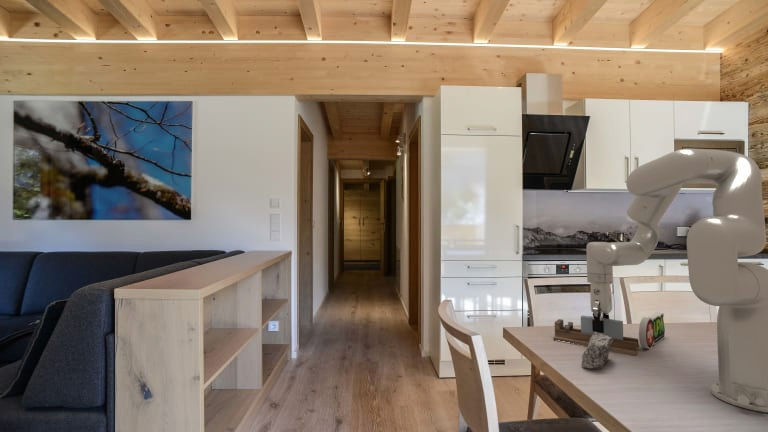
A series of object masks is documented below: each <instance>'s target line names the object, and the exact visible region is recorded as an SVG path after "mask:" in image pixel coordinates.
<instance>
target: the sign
mask: <svg viewBox="0 0 768 432" xmlns="http://www.w3.org/2000/svg"><path fill="white" fill-rule="evenodd" d="M664 316H665V315H664V313H663V312H659V311H657V312H655V313H654V314H650V315H649V316H647V317H645V316H643V317H642V318H641V320H640V322H639V326H638V327H639V328H638V342H639V346H641V348H643V349H647V350H651V349H652V348H653V346H656V345H657V344H659V342H661V341H662V340H664V339H665V333H666V330H665V329H666V328H665V322H664V318H665V317H664Z"/></svg>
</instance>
